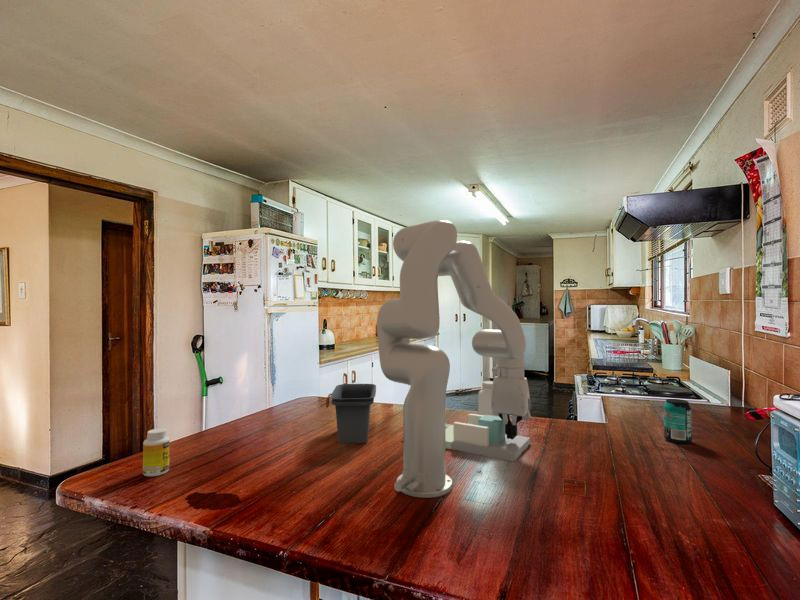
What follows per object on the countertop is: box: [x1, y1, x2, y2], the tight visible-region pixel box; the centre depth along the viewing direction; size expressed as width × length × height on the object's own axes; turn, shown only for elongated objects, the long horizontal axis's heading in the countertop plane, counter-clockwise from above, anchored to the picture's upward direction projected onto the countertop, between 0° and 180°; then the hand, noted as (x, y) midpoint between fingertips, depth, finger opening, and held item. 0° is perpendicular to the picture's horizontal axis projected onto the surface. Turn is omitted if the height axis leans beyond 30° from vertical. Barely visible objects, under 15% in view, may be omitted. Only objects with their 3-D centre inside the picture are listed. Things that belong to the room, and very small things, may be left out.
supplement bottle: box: [142, 427, 171, 477], centre depth 100 cm, size 6×6×10 cm
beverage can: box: [663, 398, 693, 445], centre depth 123 cm, size 7×7×12 cm
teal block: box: [478, 415, 505, 444], centre depth 119 cm, size 6×6×6 cm
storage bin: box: [325, 383, 377, 444], centre depth 129 cm, size 21×16×14 cm
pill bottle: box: [477, 380, 499, 417], centre depth 138 cm, size 8×8×15 cm
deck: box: [445, 413, 531, 463], centre depth 122 cm, size 16×34×7 cm, turn 58°
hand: (511, 437), depth 115 cm, fingers closed
